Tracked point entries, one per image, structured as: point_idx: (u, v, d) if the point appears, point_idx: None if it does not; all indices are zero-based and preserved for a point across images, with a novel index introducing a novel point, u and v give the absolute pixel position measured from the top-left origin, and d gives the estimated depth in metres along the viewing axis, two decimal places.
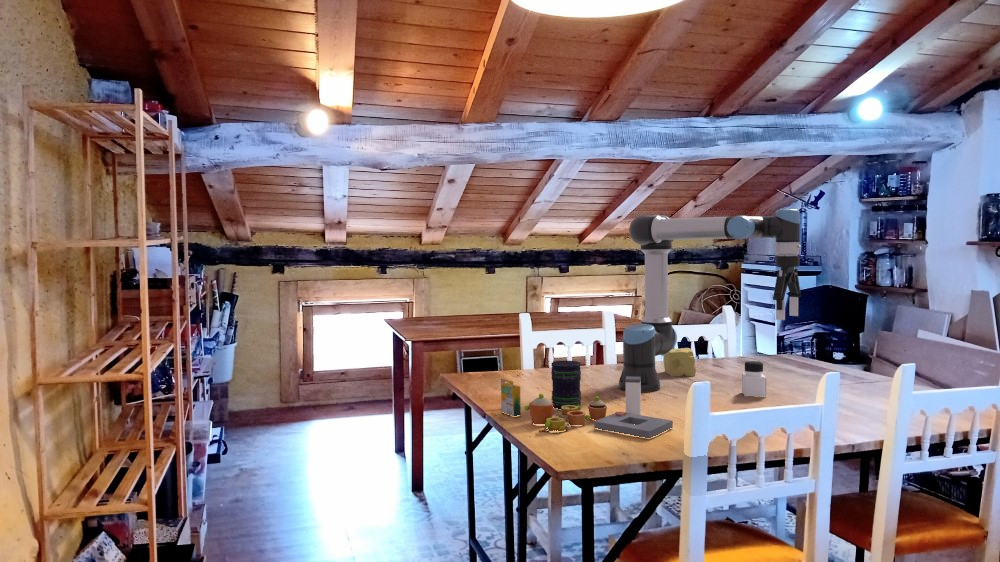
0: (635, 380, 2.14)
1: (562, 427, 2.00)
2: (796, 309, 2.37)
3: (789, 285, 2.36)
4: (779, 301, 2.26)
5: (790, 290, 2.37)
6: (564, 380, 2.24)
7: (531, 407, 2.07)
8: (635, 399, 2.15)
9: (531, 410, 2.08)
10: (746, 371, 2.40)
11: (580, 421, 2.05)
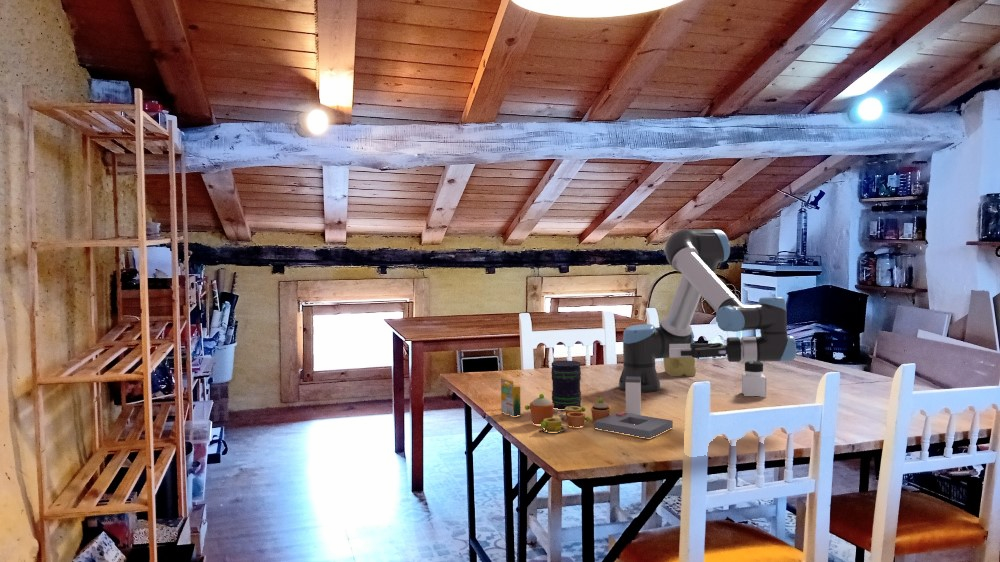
0: (635, 380, 2.14)
1: (558, 428, 1.99)
2: None
3: (704, 346, 2.16)
4: (690, 353, 2.05)
5: (697, 346, 2.18)
6: (564, 380, 2.24)
7: (531, 407, 2.08)
8: (635, 399, 2.15)
9: (531, 410, 2.08)
10: (746, 371, 2.40)
11: (579, 423, 2.04)
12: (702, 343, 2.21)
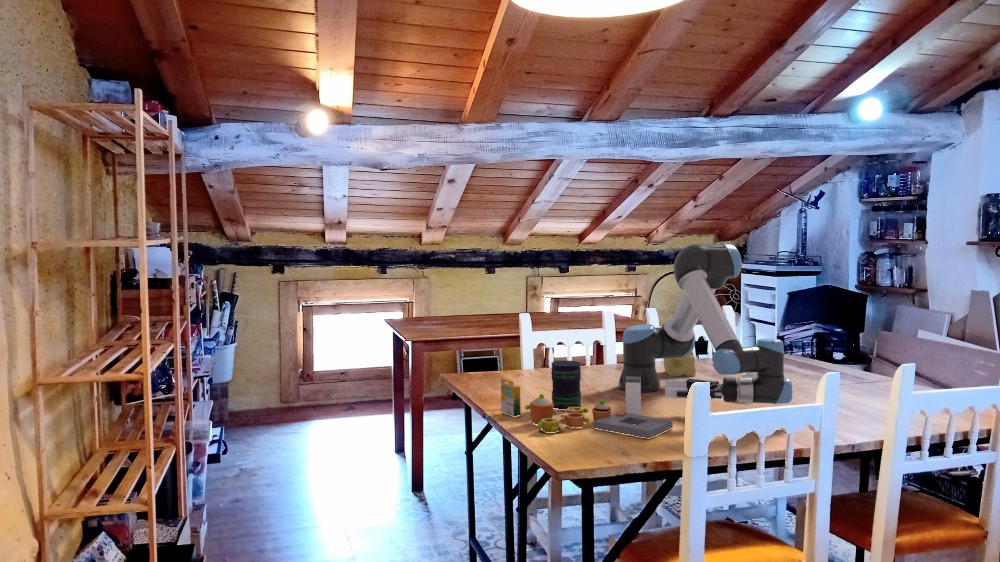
0: (635, 380, 2.14)
1: (554, 428, 1.99)
2: (672, 387, 2.20)
3: None
4: (686, 395, 2.05)
5: None
6: (564, 380, 2.24)
7: (530, 406, 2.08)
8: (635, 399, 2.15)
9: (530, 409, 2.08)
10: None
11: (577, 423, 2.03)
12: None
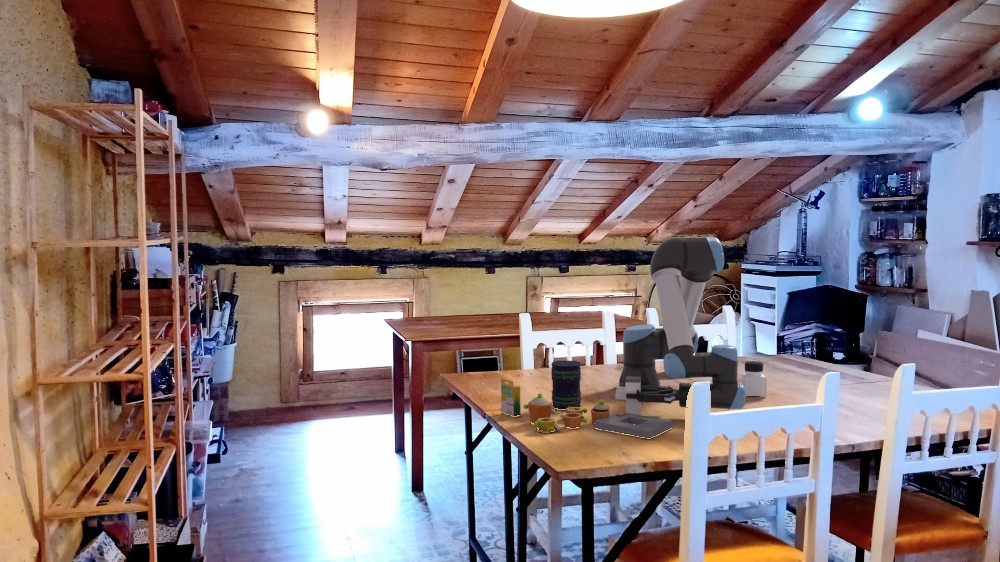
0: (635, 380, 2.14)
1: (550, 428, 1.99)
2: None
3: (654, 390, 2.17)
4: (635, 397, 2.13)
5: (647, 389, 2.18)
6: (564, 380, 2.24)
7: (528, 406, 2.09)
8: None
9: None
10: (746, 371, 2.40)
11: (574, 424, 2.03)
12: (650, 386, 2.21)
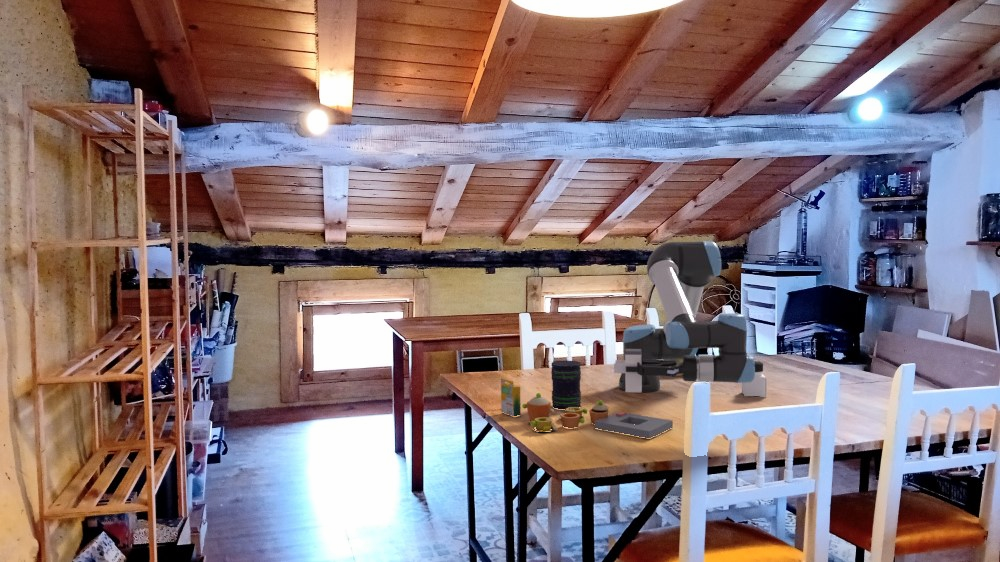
0: (635, 352, 1.98)
1: (546, 428, 1.99)
2: None
3: (656, 363, 2.01)
4: (635, 370, 1.97)
5: (648, 363, 2.02)
6: (564, 380, 2.24)
7: (527, 405, 2.10)
8: None
9: (527, 408, 2.10)
10: None
11: (571, 424, 2.03)
12: (651, 359, 2.05)
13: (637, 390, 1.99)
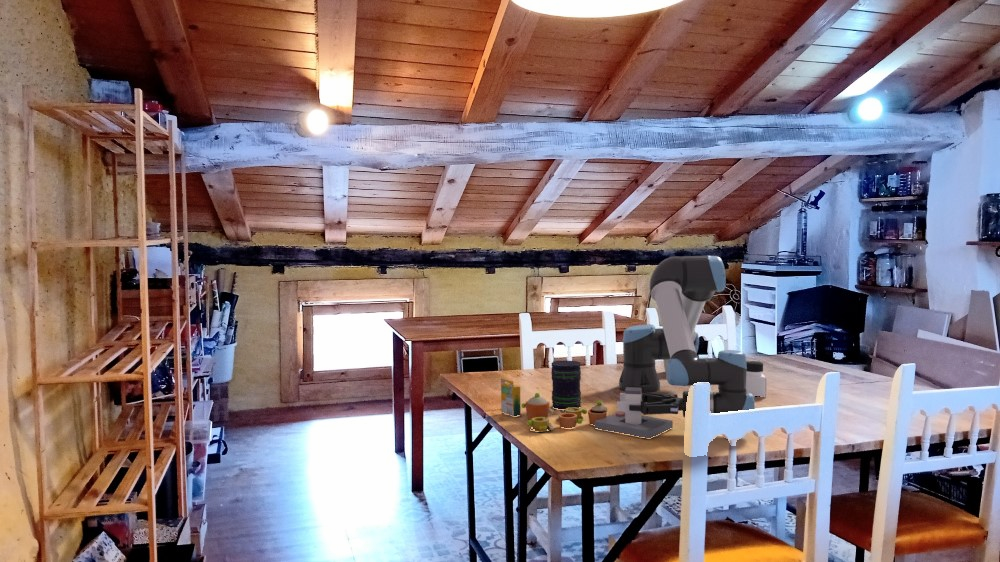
0: (635, 391, 1.99)
1: (542, 427, 2.00)
2: None
3: (658, 398, 2.03)
4: (639, 409, 1.94)
5: (651, 397, 2.04)
6: (564, 380, 2.24)
7: (525, 405, 2.10)
8: None
9: (526, 408, 2.11)
10: (746, 371, 2.40)
11: (568, 424, 2.03)
12: (655, 393, 2.07)
13: None
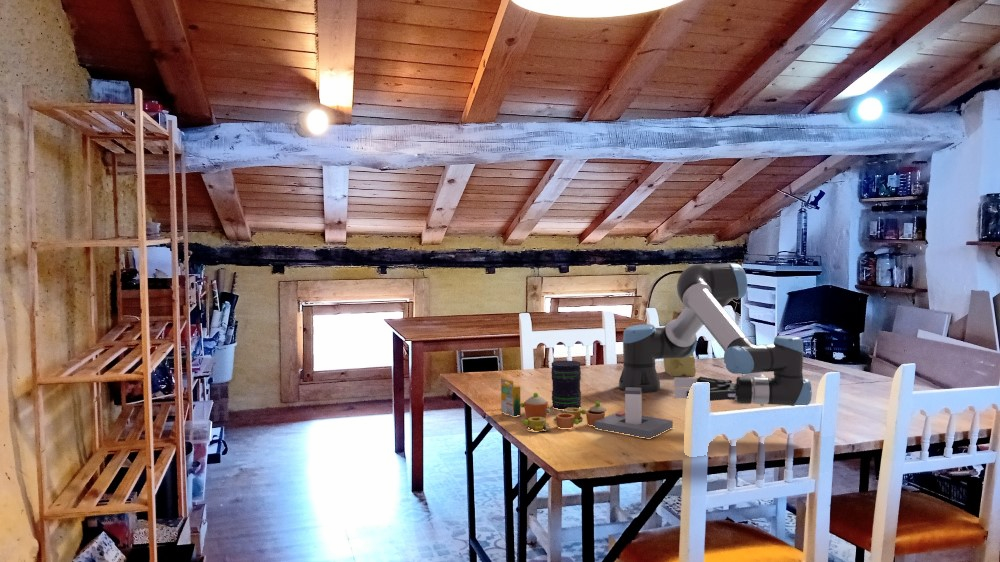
0: (635, 391, 1.99)
1: (538, 427, 2.00)
2: (681, 386, 2.06)
3: (711, 383, 2.01)
4: None
5: (705, 381, 2.03)
6: (564, 380, 2.24)
7: (524, 404, 2.11)
8: (636, 411, 1.99)
9: (524, 407, 2.11)
10: None
11: (565, 424, 2.02)
12: (710, 378, 2.06)
13: None
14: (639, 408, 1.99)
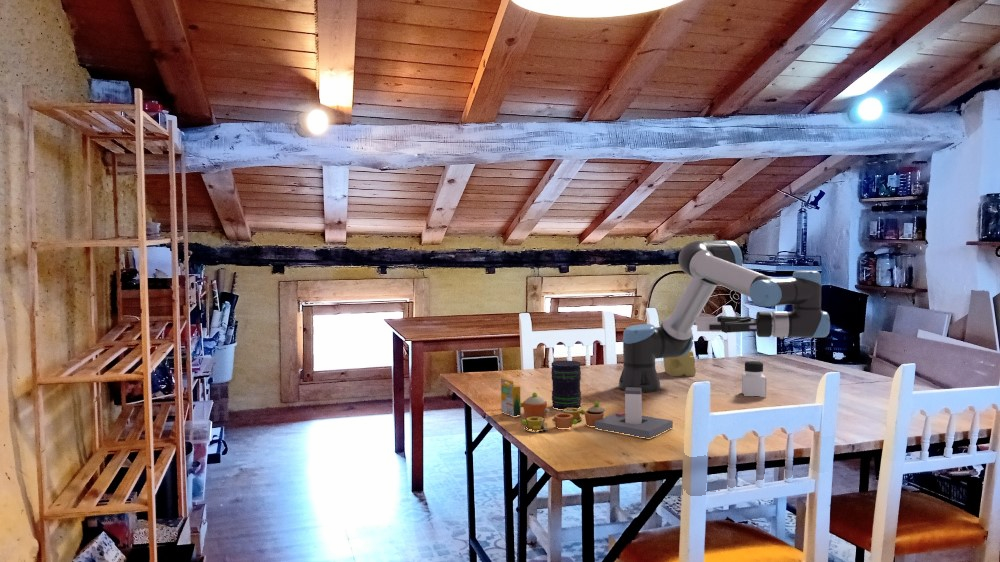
0: (635, 391, 1.99)
1: (536, 427, 2.00)
2: None
3: (732, 319, 2.08)
4: (719, 328, 1.97)
5: (725, 319, 2.10)
6: (564, 380, 2.24)
7: (523, 404, 2.11)
8: (636, 411, 1.99)
9: (523, 407, 2.11)
10: (746, 371, 2.40)
11: (563, 424, 2.02)
12: None
13: None
14: (639, 408, 1.99)
